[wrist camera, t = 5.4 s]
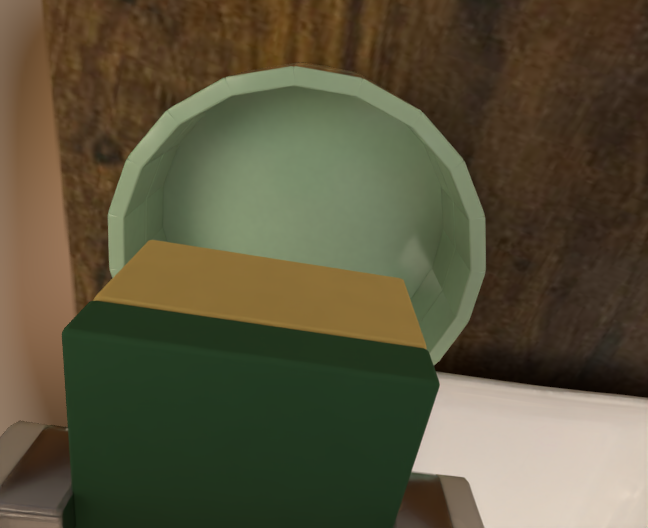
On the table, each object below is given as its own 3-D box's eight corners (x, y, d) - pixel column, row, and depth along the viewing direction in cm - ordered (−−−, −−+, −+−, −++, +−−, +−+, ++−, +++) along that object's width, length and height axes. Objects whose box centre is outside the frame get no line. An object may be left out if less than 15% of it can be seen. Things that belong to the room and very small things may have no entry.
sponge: (148, 237, 8) (58, 330, 5) (404, 276, 8) (443, 384, 6) (143, 517, 11) (81, 673, 8) (335, 540, 11) (338, 697, 8)
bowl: (159, 36, 20) (102, 31, 15) (489, 94, 20) (541, 109, 15) (154, 324, 25) (112, 392, 20) (411, 360, 26) (431, 434, 21)
